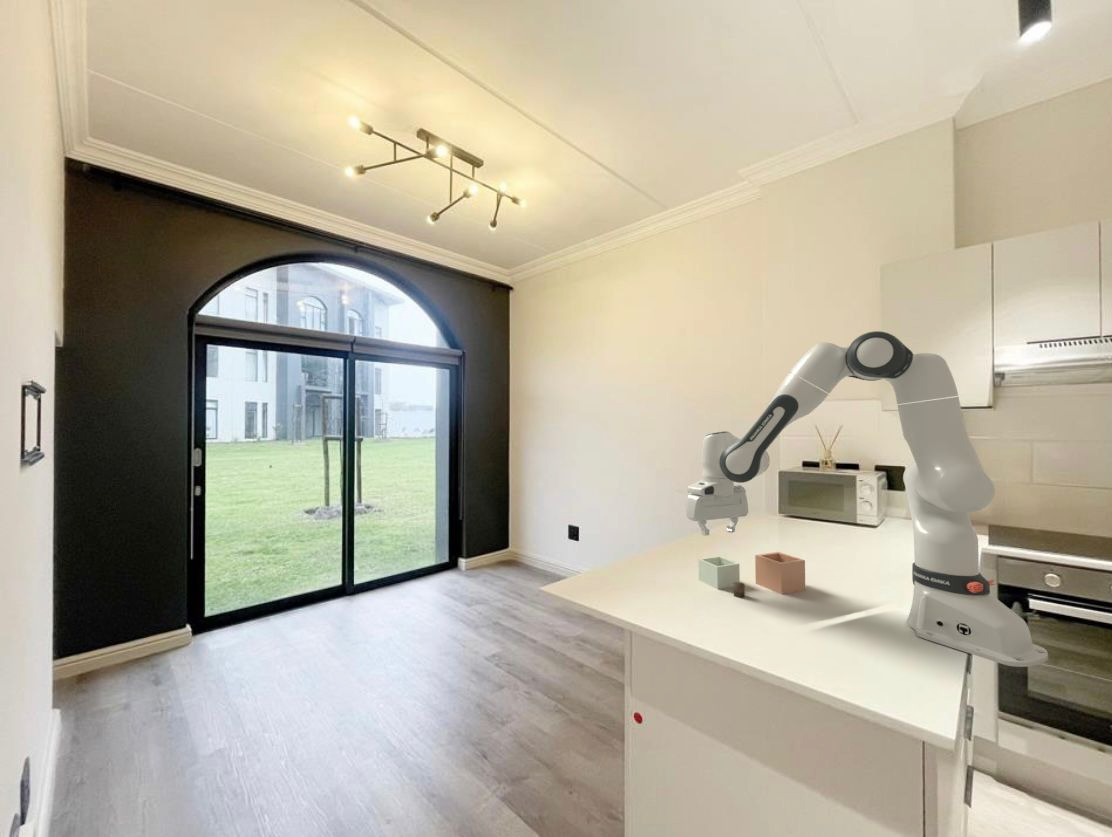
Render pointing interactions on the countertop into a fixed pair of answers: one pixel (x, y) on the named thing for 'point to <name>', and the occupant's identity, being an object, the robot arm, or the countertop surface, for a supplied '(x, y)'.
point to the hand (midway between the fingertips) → (718, 533)
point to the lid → (739, 589)
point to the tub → (718, 572)
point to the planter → (780, 572)
